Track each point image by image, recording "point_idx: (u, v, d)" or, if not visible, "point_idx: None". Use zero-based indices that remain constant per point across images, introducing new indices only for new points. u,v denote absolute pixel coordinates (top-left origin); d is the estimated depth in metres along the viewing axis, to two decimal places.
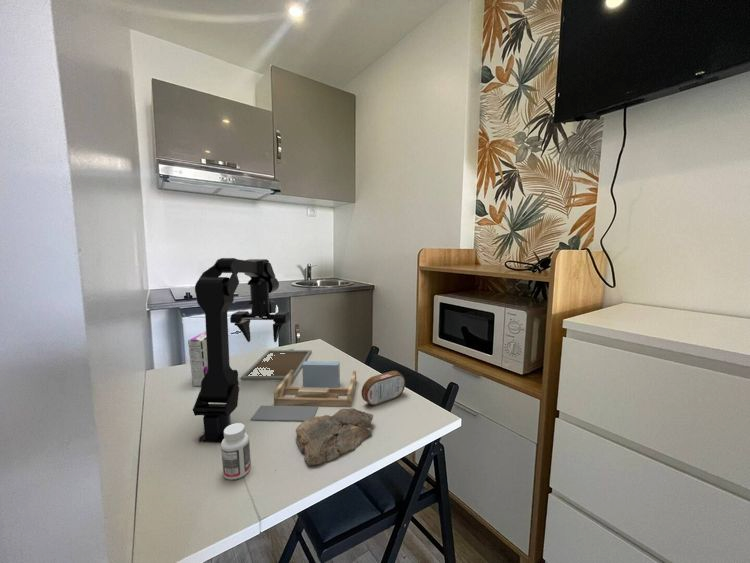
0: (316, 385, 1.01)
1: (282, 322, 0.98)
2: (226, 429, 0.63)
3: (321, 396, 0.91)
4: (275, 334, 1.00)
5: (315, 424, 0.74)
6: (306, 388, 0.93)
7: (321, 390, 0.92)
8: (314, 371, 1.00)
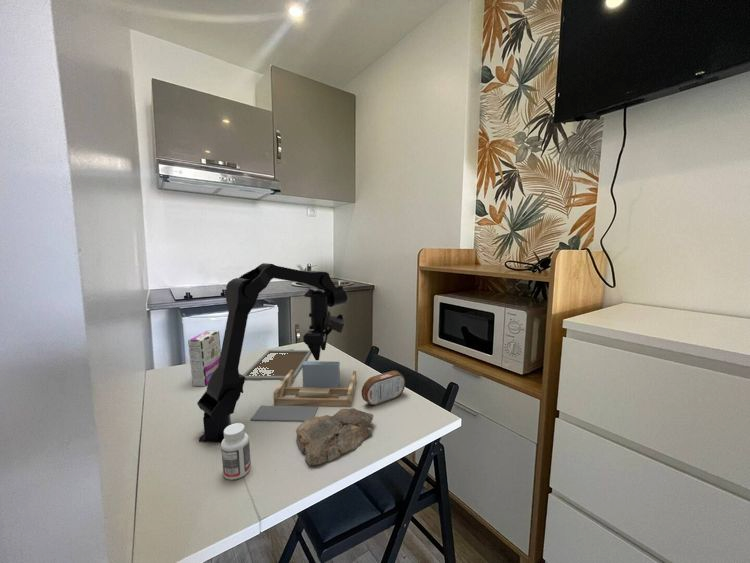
0: (316, 385, 1.01)
1: None
2: (226, 429, 0.63)
3: (322, 397, 0.91)
4: None
5: (315, 424, 0.74)
6: (307, 389, 0.93)
7: (322, 391, 0.92)
8: (314, 371, 1.00)
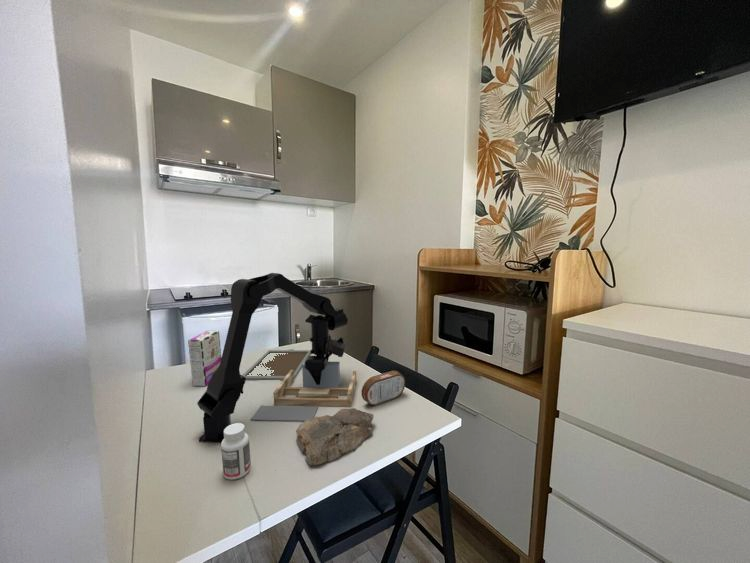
0: (316, 385, 1.01)
1: None
2: (226, 429, 0.63)
3: None
4: None
5: (315, 424, 0.74)
6: (306, 390, 0.93)
7: (322, 392, 0.91)
8: None
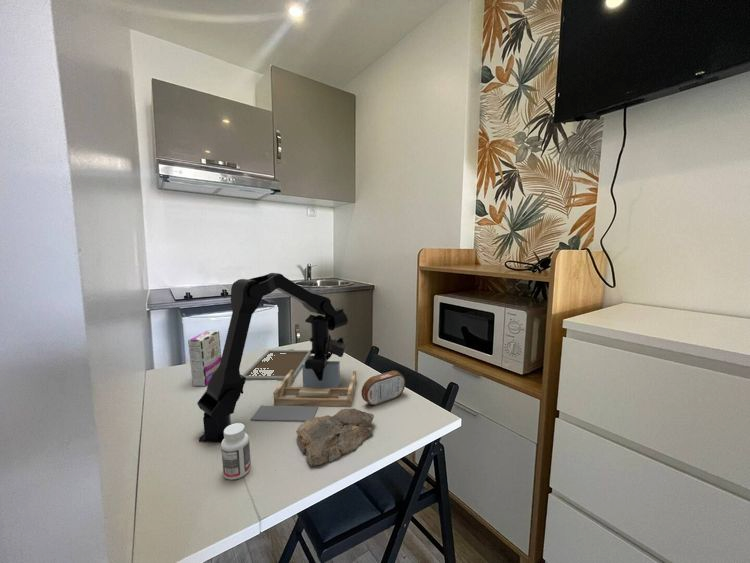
0: (316, 385, 1.01)
1: None
2: (226, 429, 0.63)
3: (322, 397, 0.91)
4: None
5: (316, 424, 0.74)
6: (307, 389, 0.93)
7: (322, 391, 0.92)
8: None
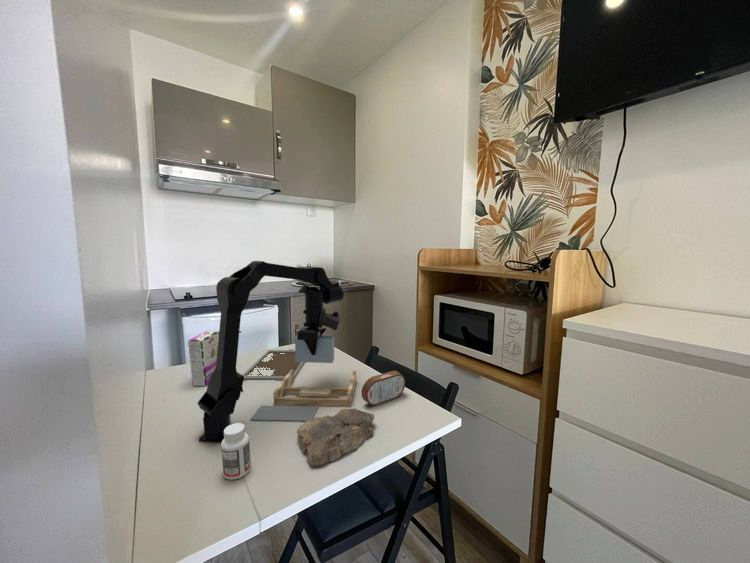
0: (309, 360, 0.97)
1: None
2: (226, 429, 0.63)
3: None
4: None
5: (316, 424, 0.74)
6: (308, 389, 0.93)
7: (323, 392, 0.91)
8: None
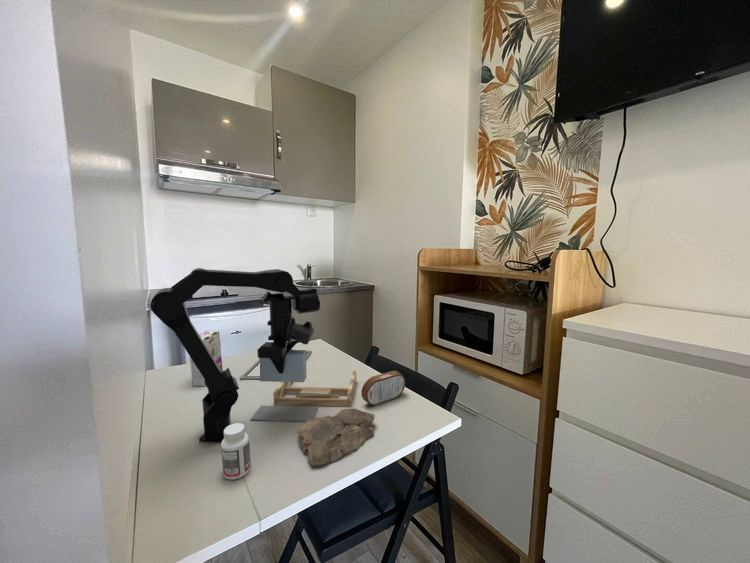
0: (276, 378, 0.82)
1: None
2: (226, 429, 0.63)
3: None
4: None
5: (317, 424, 0.74)
6: (308, 389, 0.93)
7: (323, 392, 0.91)
8: None
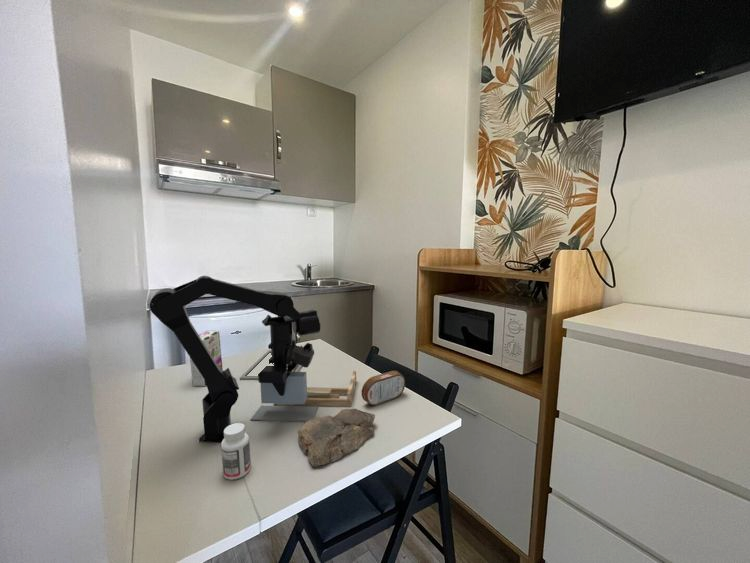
0: (277, 400, 0.83)
1: None
2: (226, 429, 0.63)
3: (323, 397, 0.91)
4: None
5: (317, 424, 0.73)
6: (308, 389, 0.93)
7: (323, 391, 0.92)
8: None
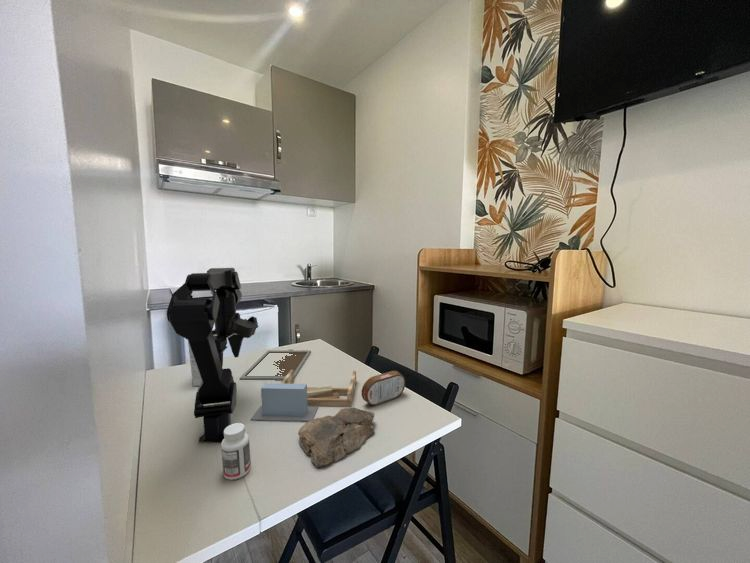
0: (278, 413, 0.84)
1: None
2: (226, 429, 0.63)
3: (326, 394, 0.92)
4: None
5: (318, 425, 0.73)
6: (309, 390, 0.93)
7: (325, 389, 0.93)
8: (275, 396, 0.83)
